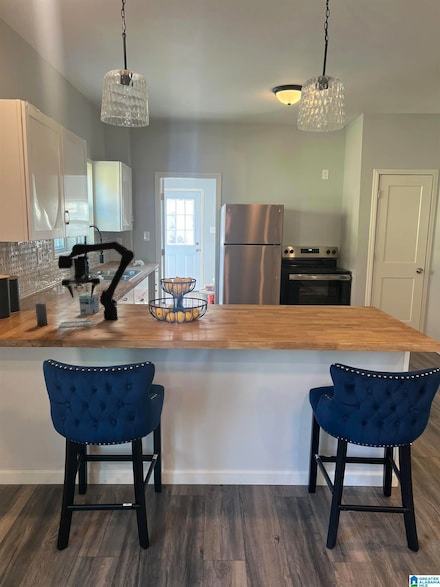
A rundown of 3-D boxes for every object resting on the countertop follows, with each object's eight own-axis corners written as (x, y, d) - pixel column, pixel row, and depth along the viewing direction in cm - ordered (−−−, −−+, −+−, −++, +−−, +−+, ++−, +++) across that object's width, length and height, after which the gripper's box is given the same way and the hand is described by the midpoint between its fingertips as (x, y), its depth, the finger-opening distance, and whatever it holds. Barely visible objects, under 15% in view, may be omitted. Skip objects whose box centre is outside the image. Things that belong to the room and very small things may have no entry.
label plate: (93, 321, 217) (93, 319, 217) (92, 325, 207) (92, 324, 207) (61, 323, 213) (61, 322, 213) (58, 328, 203) (58, 326, 203)
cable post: (49, 324, 213) (47, 302, 211) (43, 326, 208) (41, 304, 206) (41, 323, 214) (39, 302, 212) (35, 325, 209) (33, 304, 207)
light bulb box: (90, 314, 233) (89, 295, 232) (79, 314, 235) (78, 295, 233) (99, 310, 244) (98, 292, 242) (89, 310, 245) (88, 292, 243)
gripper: (59, 270, 205) (61, 301, 208) (98, 268, 210) (100, 299, 212) (61, 268, 216) (64, 298, 218) (99, 266, 220) (101, 295, 223)
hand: (82, 297), depth 218 cm, fingers open, 9 cm apart
